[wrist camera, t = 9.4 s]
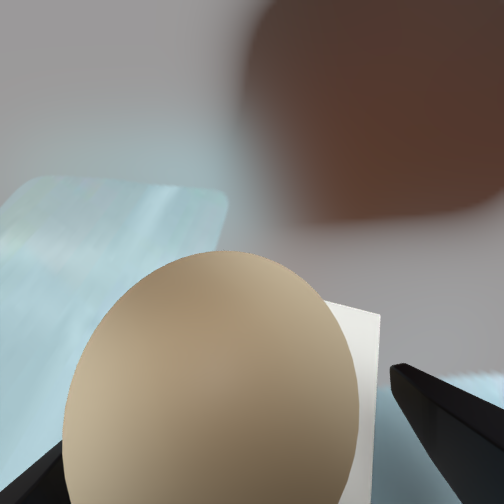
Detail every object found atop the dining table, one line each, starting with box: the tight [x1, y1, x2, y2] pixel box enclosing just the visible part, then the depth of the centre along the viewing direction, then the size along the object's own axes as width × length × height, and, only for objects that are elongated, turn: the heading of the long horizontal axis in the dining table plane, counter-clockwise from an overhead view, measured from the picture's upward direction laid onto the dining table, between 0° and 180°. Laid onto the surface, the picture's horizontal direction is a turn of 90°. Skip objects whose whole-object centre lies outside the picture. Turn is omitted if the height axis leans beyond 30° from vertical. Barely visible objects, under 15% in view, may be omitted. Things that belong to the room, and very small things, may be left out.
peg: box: [62, 251, 359, 504], centre depth 10 cm, size 5×5×14 cm
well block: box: [323, 300, 380, 504], centre depth 15 cm, size 12×12×4 cm
